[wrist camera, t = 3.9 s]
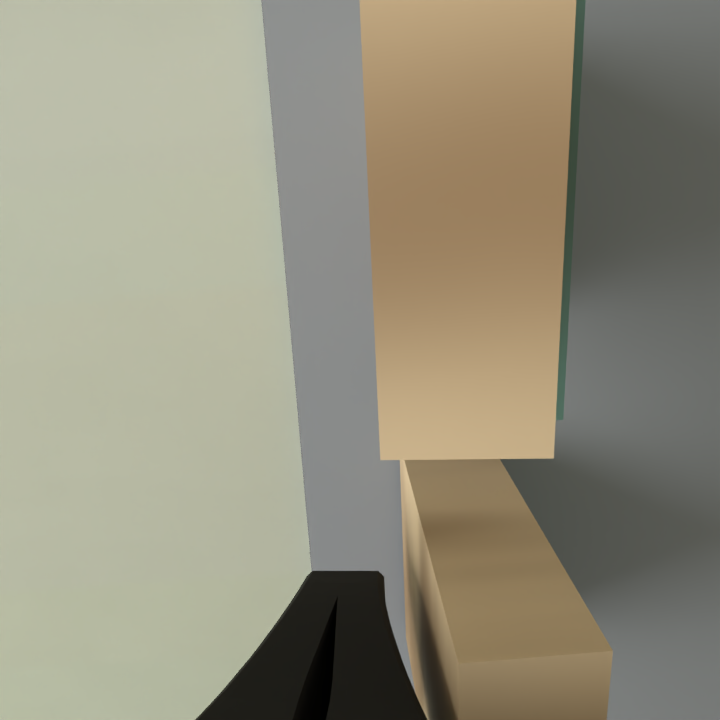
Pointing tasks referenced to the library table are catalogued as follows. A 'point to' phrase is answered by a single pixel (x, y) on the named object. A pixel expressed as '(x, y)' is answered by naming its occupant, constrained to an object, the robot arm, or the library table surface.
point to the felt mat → (584, 346)
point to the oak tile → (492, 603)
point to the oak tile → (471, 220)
